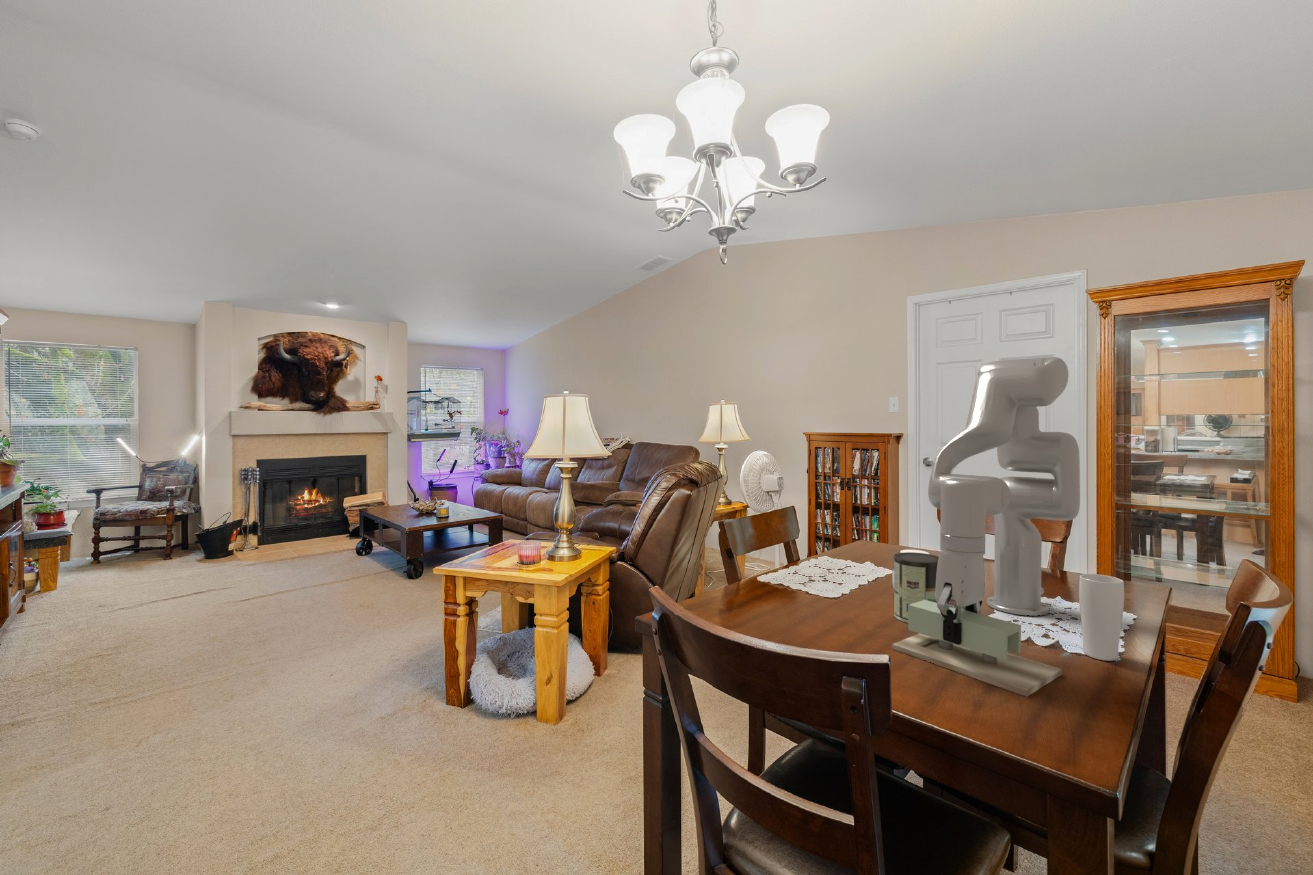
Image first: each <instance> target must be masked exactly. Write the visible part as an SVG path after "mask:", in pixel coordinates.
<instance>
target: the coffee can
mask: <svg viewBox="0 0 1313 875" xmlns="http://www.w3.org/2000/svg"><path fill="white" fill-rule="evenodd" d="M893 559H894V560H893V561H894V563H893V566H894V588H893V591H894V593H893V594H894V600H893V602H894V604H893V605H894V606H893V607H894V609H893V610H894V614H893V616H894V618H895V619H897V620H899V621H901V622H903V623H906V624H908V605H910V604H913V603H916V602H919V601H923V600H928V601H931V602H935V603H938V602H937V601H936V599H935V588H936V574H937V565H938V559H939V555H934V554H932V553H931V554H930V553H929V554H925V553H913V552H905V553H900V552H898V553H895V554H894V555H893Z"/></svg>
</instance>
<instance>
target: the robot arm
mask: <svg viewBox="0 0 1313 875" xmlns="http://www.w3.org/2000/svg"><path fill="white" fill-rule="evenodd" d="M1068 382H1069V369H1068V366H1067V364H1066V362H1065V361H1064V359H1062V358H1060V357H1056V356H1046V357H1033V358H1031V357H1029V358H1017V359H1016V358H1015V359H1014V358H1013V359H1003V360H996V361H991V362H987V363H984V364H982V365H981V366H980V367H979V368H978V370H977V378H976V380H975V383H974V388H973V393H972V395H971V396H972V397H971V401H970V406H969V409H968V410H969V411H968V415H967V420H966V424H965V428H964V429H963V430H962V431H961V432H959V433H957V435H955V436H954V437H952V438H951V439H950V440H949V441H948V442H947V443H946V444H945V445H944V446H943V448H941V450H940V451H939V452H938V453H937V454H936V456H935V459H934V462H933V463H932V464H933V465H932V469H931V473H930V476H929V477H930V478H929V482H928V488H927V489H928V490H927V491H928V496H927V497H928V500H929V502H930V504H931V505H932V506H933V507H934V508H936V509H938V510H940V523H939V524H940V530H939V531H940V535H939V536H940V539H939V546H940V547H939V549H940V551H939V555H938V557H939V559H938V565H937V574H936V588H935V599H936V601H937V602H938V603H937V607H938V609H939V610H940V613H941V615H942V620H943V640H945V641H948V642H951V643H954V644H957V645H959V644H961V631H962V623H959V620H960V615H961V610H966V611H970V612H974V613H977V614H981V613H982V609H981V606H982V605H983V600H984V599H985V594H986V592H985V591H986V573H985V572H986V571H985V570H986V569H985V559H984V556H985V555H986V523H987V521H986V519H987V518H986V515H988V516H989V515H990V516H993V522H994V565H993V566H994V568H993V569H994V577H993V578H994V579H993V580H994V581H993V582H994V583H993V584H994V586H993V587H994V588H993V589H994V590H993V591H994V592H993V593H994V594H993V595H991V596H988V597H987V598H986V604H987V605H988V606H989V607H990V608H992V609H995V610H997V611H1000V612H1003V613H1008V614H1013V615H1019V616H1027V615H1029V617H1032V616H1035V617H1036V616H1037V617H1038V615H1040V616H1044V615H1047V614H1049V612H1050V608H1049V605H1047V604H1046V603H1044V602H1042V595H1043V594H1044V592H1045V589H1044V588H1043V587H1042V542H1043V541H1042V535H1041V533H1040V531H1039V529H1038V528H1037V527H1036V526H1035V524H1034V523H1033V522H1032V521H1031V519H1039V520H1048V521H1049V520H1050V521H1060V522H1062V521H1064V522H1066V521H1067V522H1068V521H1072V520H1074V519H1075V518H1076V517H1077V516H1078V515H1079V513H1080V507H1081V506H1080V504H1081V479H1080V478H1081V476H1080V475H1081V474H1080V473H1081V470H1080V448H1079V444H1078V442H1077V439H1076V438H1075V437H1074V436H1073V435H1072V434H1070V433H1068V432H1061V431H1041V429H1040V419H1039V417H1040V413H1039V412H1040V411H1039V409H1038V407H1039V408H1040V407H1046V406H1051V405H1052V404H1053V403H1054V402H1055V401H1056V400H1057V399H1058V398H1059V397H1060V396H1061V395H1062V394H1063V393H1064V392H1065V390H1066V387H1067V385H1068ZM995 448H996V453H997V454H996V456H997V462H998V464H999V466H1000V467H1001V469H1004V470H1007V471H1011V472H1019V473H1020V472H1021V473H1022V472H1023V473H1042V474H1050V475H1052V476H1053V478H1046V477H1045V478H1042V477H1034V476H1033V477H1032V476H1031V477H1030V476H1029V477H1028V476H1005V477H1000V478H999V477H995V476H988V475H973V474H957V473H953V471H954V470H955V468H957V466H958V465H959V464H960V463H962V462H964V461H965V460H967V459H968V458H971V457H973V456H976V455H979V454H980V453H985V452H987V451H990V450H993V449H995ZM951 602H955V603H951ZM950 607H951V608H954V609H955V614H954V613H953V611H952V610H950V609H949V608H950ZM981 615H982V614H981Z"/></svg>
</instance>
